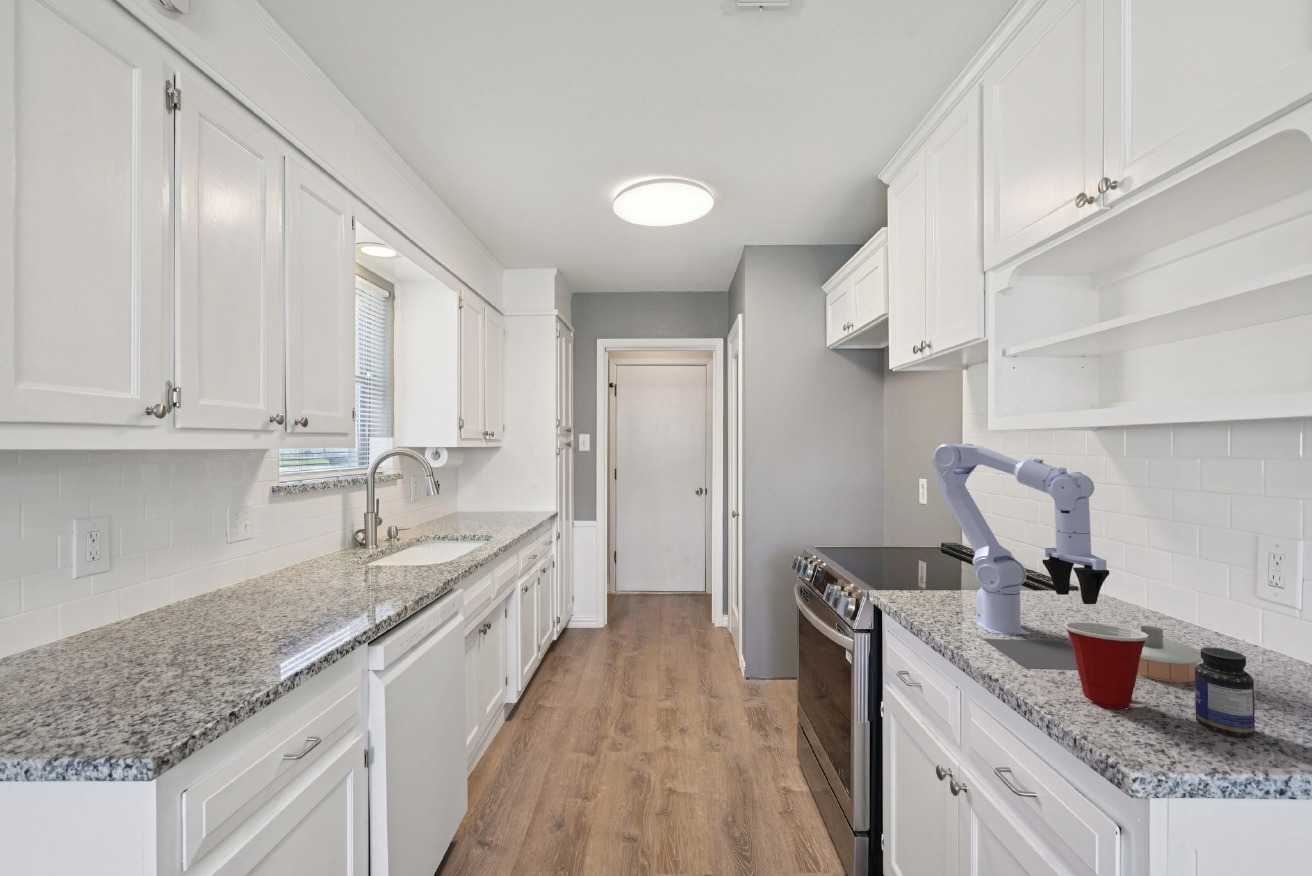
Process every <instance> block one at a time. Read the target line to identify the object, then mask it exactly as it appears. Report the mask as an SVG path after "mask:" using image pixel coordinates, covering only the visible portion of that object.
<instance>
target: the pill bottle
mask: <svg viewBox="0 0 1312 876" xmlns="http://www.w3.org/2000/svg"><path fill="white" fill-rule="evenodd" d="M1200 652H1201V658H1202V662H1200V663H1197V666H1196V667H1195V680H1194V691H1195V692H1194V693H1195V694H1194V695H1195V700H1194V702H1195V719H1196V722H1197V723H1198V724H1199V725H1201V726H1202V727H1203V728H1206V729H1207V730H1209V731H1212V732H1215V733H1218V734H1222V735H1226V736H1230V737H1235V738H1251V737H1252V736H1254V734H1255V733H1256V730H1255V729H1256V726H1255V724H1256V723H1255V721H1256V718H1255V692H1254V689H1255V687H1254V686H1255V684H1254V683H1255V680H1254V679H1253V678H1254V677H1252V675H1251V674H1250V673H1248V672H1247V671H1245V670H1244V669H1245V667H1246V666H1247V658H1246V656H1245V655H1243V654H1242V653H1240V652H1237V651H1235V650H1230V649H1225V648H1219V647H1210V646H1209V647H1208V646H1206V647H1202V648H1200Z"/></svg>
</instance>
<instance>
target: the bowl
mask: <svg viewBox="0 0 1312 876" xmlns="http://www.w3.org/2000/svg"><path fill="white" fill-rule="evenodd" d="M1197 665H1198V663H1193V664H1176V663H1166V662H1159V661H1153V660H1148V659H1143V658H1140V662H1139V667H1138V672H1137V676H1140V677H1143V678H1147V679H1151V680H1155V681H1161V682H1169V683H1191V682H1195V667H1196V666H1197Z"/></svg>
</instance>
